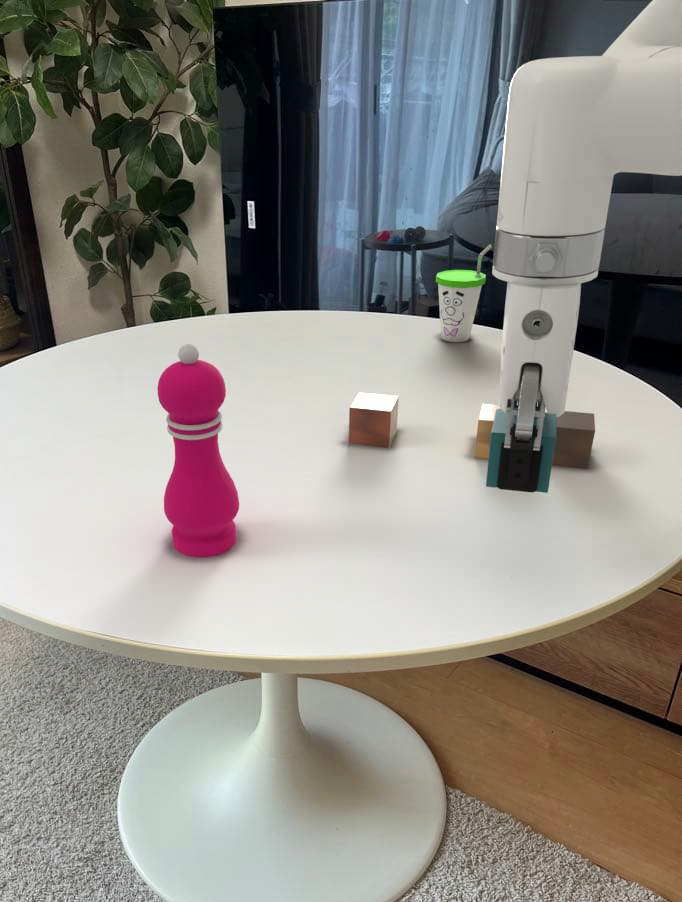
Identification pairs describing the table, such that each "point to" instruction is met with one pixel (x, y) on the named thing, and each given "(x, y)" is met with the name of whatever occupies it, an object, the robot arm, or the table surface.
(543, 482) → the teal block
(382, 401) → the cherry block
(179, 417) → the pepper mill
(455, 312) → the cup
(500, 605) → the table surface
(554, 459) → the walnut block
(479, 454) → the oak block
